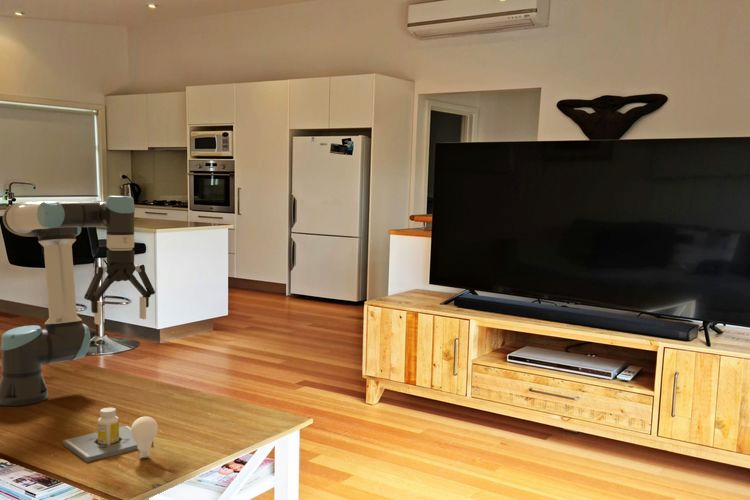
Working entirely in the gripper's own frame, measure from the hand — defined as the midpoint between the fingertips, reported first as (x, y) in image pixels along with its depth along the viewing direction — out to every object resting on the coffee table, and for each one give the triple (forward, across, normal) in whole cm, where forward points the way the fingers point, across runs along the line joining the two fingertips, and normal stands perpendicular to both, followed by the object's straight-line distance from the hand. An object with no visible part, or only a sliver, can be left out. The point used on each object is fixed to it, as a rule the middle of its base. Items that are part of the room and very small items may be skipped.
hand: (120, 321), depth 200 cm
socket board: (+31, -10, -14) cm, 35 cm away
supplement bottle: (+31, -10, -14) cm, 35 cm away
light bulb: (+31, -7, -29) cm, 43 cm away
